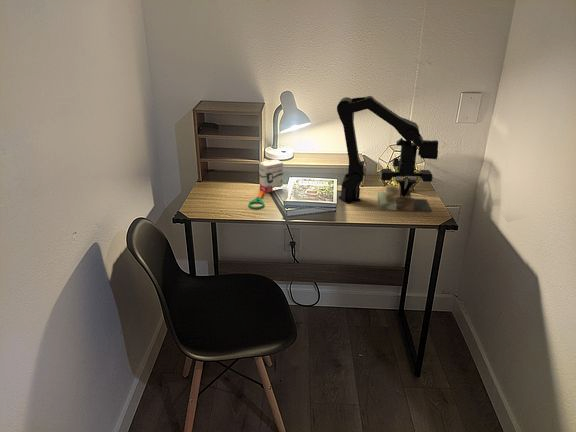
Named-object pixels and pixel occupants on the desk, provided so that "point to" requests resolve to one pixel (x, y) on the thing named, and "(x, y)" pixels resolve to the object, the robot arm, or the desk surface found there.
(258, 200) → the magnifying glass
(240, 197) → the desk surface
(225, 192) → the desk surface
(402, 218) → the desk surface
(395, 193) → the maple block
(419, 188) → the desk surface
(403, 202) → the tunnel course
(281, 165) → the ink box
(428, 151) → the robot arm
